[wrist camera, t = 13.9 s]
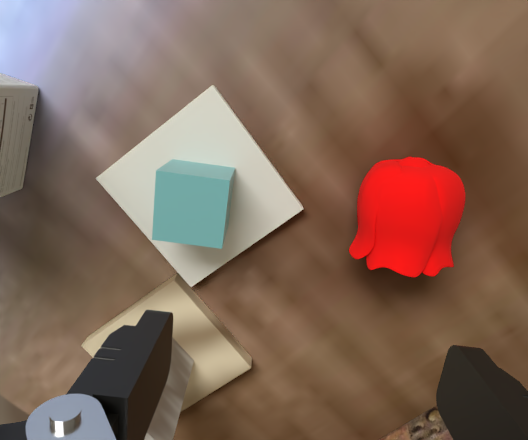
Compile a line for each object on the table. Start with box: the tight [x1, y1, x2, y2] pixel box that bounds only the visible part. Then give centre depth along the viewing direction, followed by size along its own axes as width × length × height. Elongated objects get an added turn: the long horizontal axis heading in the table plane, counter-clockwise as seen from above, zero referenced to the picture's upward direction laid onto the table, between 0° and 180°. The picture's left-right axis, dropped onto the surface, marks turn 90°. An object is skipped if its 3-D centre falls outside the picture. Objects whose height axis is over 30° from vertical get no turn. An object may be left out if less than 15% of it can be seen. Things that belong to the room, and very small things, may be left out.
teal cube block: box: [152, 159, 235, 249], centre depth 30 cm, size 5×5×5 cm
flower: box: [349, 157, 465, 277], centre depth 30 cm, size 8×8×8 cm
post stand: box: [81, 273, 252, 440], centre depth 33 cm, size 11×11×12 cm
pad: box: [96, 85, 304, 287], centre depth 33 cm, size 12×12×1 cm
